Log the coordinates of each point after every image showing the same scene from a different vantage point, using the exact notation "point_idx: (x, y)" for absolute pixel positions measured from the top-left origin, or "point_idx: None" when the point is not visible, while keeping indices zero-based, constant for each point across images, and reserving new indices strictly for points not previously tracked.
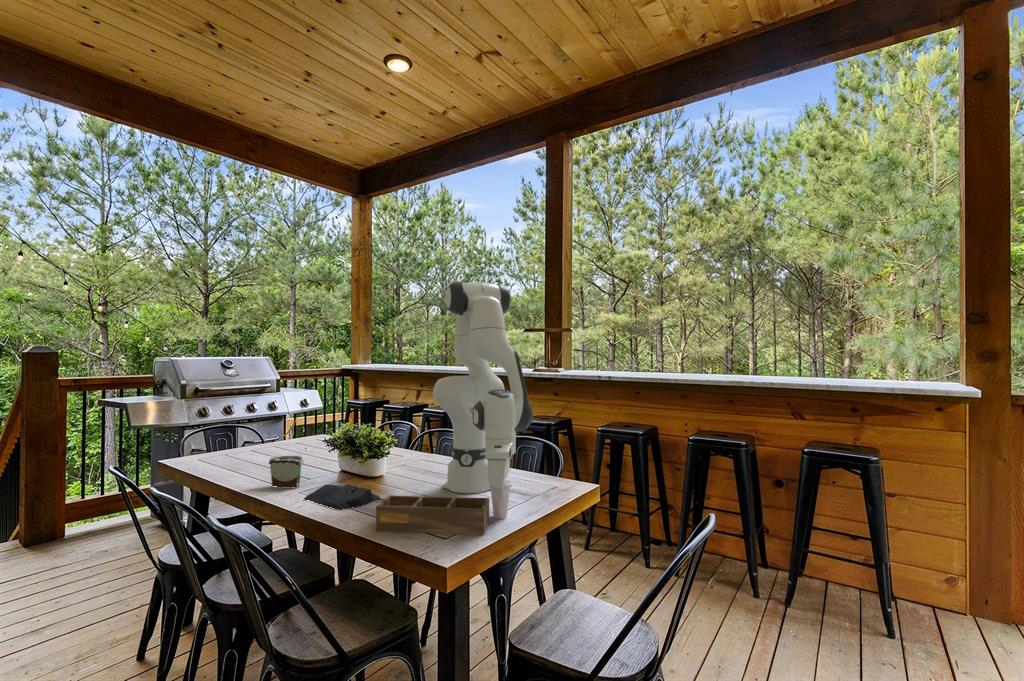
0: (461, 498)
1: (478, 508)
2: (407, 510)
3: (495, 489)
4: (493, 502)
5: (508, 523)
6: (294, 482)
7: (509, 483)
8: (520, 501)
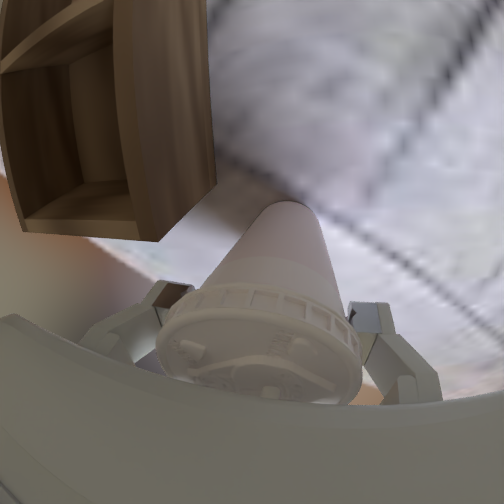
0: (113, 33)
1: (19, 207)
2: None
3: (104, 326)
4: (237, 242)
5: (211, 264)
6: None
7: None
8: (481, 306)
